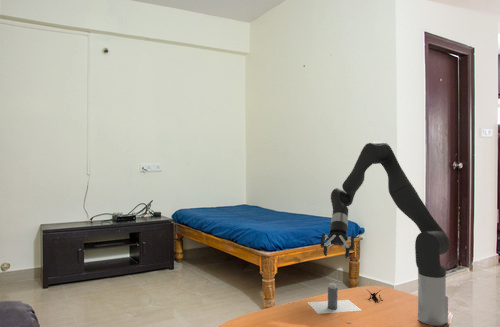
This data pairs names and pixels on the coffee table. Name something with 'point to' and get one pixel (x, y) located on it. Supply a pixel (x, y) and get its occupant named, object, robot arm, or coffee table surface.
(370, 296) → the creature
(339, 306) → the dock plate
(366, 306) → the coffee table surface
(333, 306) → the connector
